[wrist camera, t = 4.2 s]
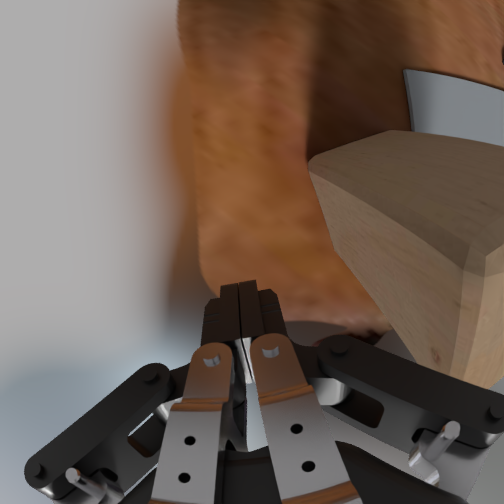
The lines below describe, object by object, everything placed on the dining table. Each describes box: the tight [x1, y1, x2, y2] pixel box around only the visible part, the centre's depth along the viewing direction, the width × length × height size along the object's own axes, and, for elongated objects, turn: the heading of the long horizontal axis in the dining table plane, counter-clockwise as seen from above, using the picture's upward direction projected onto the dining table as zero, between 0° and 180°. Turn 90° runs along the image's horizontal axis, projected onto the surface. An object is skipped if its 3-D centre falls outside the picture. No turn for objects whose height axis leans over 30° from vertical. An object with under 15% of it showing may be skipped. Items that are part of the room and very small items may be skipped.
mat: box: [403, 69, 504, 147], centre depth 24 cm, size 24×22×1 cm
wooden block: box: [308, 130, 504, 389], centre depth 15 cm, size 10×10×20 cm
